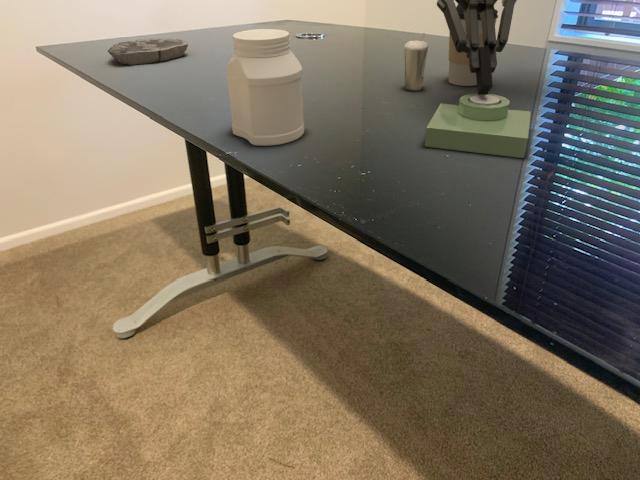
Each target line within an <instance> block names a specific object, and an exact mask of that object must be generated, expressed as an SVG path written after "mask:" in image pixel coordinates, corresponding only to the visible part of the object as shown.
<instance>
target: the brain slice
mask: <svg viewBox="0 0 640 480" xmlns="http://www.w3.org/2000/svg"><path fill="white" fill-rule="evenodd" d="M188 46H189V43H188V42H187V41H185V40H183V39H177V38H175V39H173V38H141V39H137V40H135V41H134V40H130V41H122V42H118V43H116V44H113V45H112V46H110V48H109V49H107V53H108V54H109V55H110V56H111V57H112V58H113V59H115V60H117V62H118V63H120V64H121V65H125V66H126V65H129V66H135V65H136V66H137V65H147V64H153V63H158V62H161V63H162V62H166V61H170V60H176V59H178V58H181V57H182V56H183V55H184V54H185V53H186V52H187V49H188Z"/></svg>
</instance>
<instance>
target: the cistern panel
mask: <svg viewBox="0 0 640 480" xmlns="http://www.w3.org/2000/svg"><path fill="white" fill-rule="evenodd" d="M475 95H478V93H468V94H464V95H462V96H460V98H459V100H458V104H451V103H440V104H439V105H438V107H437V109H436V111H435V112H434V114H433V115H432V118H431V119H430V121H429V123H428V124H427V126H426V128H425V140H424V147H425V148H433V149H442V150H451V151H458V152H459V151H460V152H467V153H476V154H484V155H492V156H500V157H501V156H502V157H509V158H517V159H518V158H519V159H524V158H525V155H526V150H527V146H528V141H529V135H530V125H531V116H532V115H531V114H532V112H531V111H529V110H518V109H510V108H509V107H510V102H511V101H510V99H508V98H507V97H505V96H502V95H498V94H493V93H488V94H487V95H490V96H494V97H497V98H499V100H500V101H499V104H497V105H488V106H487V105H477V104H474V103H471V102H469V101H470V97H472V96H475Z"/></svg>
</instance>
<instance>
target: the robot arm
mask: <svg viewBox="0 0 640 480" xmlns="http://www.w3.org/2000/svg"><path fill="white" fill-rule="evenodd" d="M517 1H518V0H501V4H502V5H501V6H502V7H503V9H502V11H501V15H500V20H499V25H498V30H497V32H496V24H495V21H494V10H493V8H494V9H495V4H497V2H498V0H437V1H436V6H437V8H438V9H439V10H440V11H441V12H442V13H443V16H444V19H445V22H446V25H447V27H448V31H449V33H450V34H451V37H452V40H453V43H454V46H455V49H456V51H457V52H459V53H461V52H465V53H467V55H466V56H467V58H468V59H469V66H470V71H471V73H476V79H477V85H476V90H477V94H478V95H487V94H490V91H491V89H492V88H493V84H494V83H493V73H495V70H496V69H497V66H498V60H497V53H501V52H502V51H504V49H505V47H506V45H507V43H508V41H509V38H510V37H509V36H510V31H511V25H512V21H513V15H514V9H515V5H516V4H517ZM456 3H457V5H458V4H459V5H460V6H461V7H462V9H464V19H465V24H466V34H465V31H464V28H463V26H462V23H461V20H460V17H459V14H458V11H457V8H456V7H457V5H456ZM477 11H478V12H480V19H481V22H482V34H483V46H484V47H479V31H478V18H477Z"/></svg>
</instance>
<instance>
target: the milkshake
mask: <svg viewBox="0 0 640 480" xmlns="http://www.w3.org/2000/svg"><path fill="white" fill-rule="evenodd" d="M425 35H426V32H422V35H421V38H420V39H421V40H419V39H418V40H417V39H416V40H409V41H408V42H406V43H405V44H404V45H403V46H404V47H403V48H404V89H405V90H407V91H411V92H416V91H421V90H422V88H423V82H424V76H425V69H426V64H427V63H426V62H427V58H428V52H429V46H430V45H429V44H428V43H427V42H426V41H424V39H425Z"/></svg>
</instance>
